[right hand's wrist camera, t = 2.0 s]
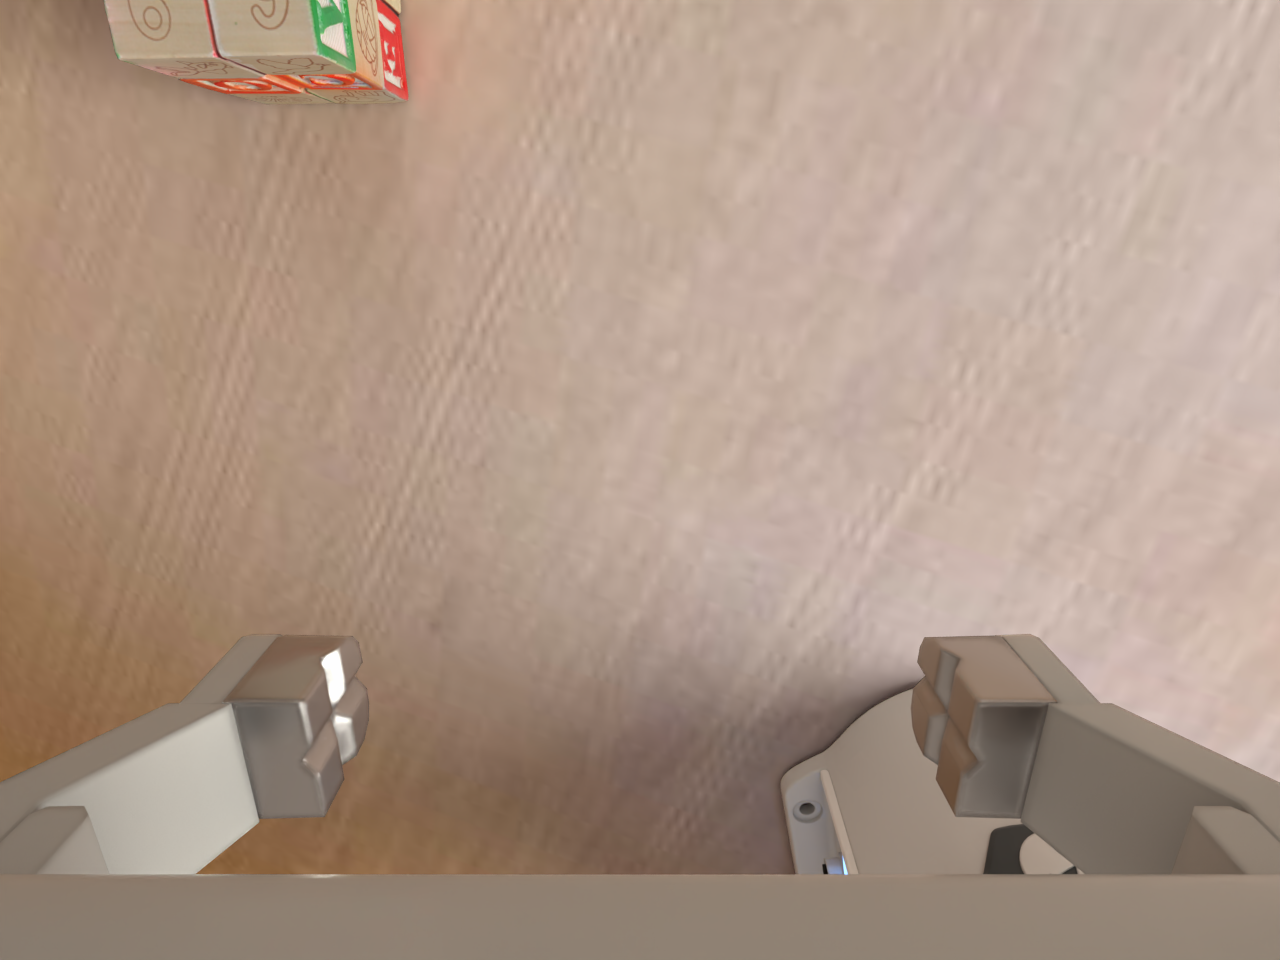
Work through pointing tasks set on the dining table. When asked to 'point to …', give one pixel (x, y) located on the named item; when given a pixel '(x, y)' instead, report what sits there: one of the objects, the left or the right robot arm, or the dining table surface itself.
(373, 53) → the stack of blocks
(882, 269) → the dining table surface
